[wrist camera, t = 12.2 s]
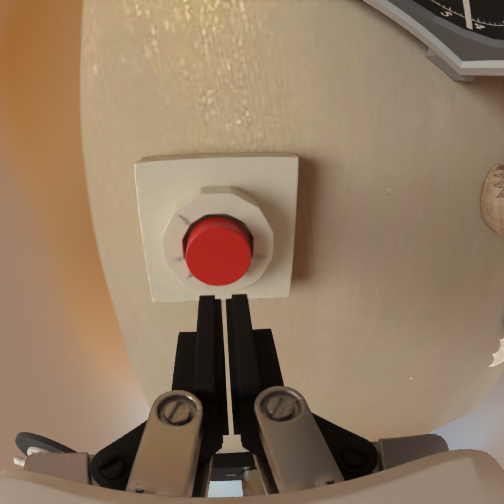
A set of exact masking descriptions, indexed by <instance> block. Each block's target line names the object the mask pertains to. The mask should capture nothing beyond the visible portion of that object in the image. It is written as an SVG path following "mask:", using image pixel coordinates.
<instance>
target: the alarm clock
mask: <svg viewBox="0 0 504 504" xmlns="http://www.w3.org/2000/svg"><path fill="white" fill-rule="evenodd" d="M362 1H364V2H366V3H367V4H369V5H371V6H372V7H374V8H376V9H377V10H379V11H380V12H382V13H383V14H385V15H386V16H388V17H389V18H391V19H392V20H394V21H395V22H397V23H398V24H399V25H401V26H402V27H404V28H405V29H406V30H408V31H409V32H410V33H412V34H413V35H414V36H416V37H417V38H418V39H419V40H421V41H422V42H423V43H424V44H426V45H427V46H428V50H427V53H426V57H427V58H429V59H430V60H431V61H432V62H433V63H435V64H436V65H437V66H438V67H439V68H440V69H441V70H443V71H444V72H445V73H446V74H447V75H448V76H449V77H450V78H451V79H453V80H454V81H467V82H471V81H473V80H474V79H476V75H490V76H504V0H362Z"/></svg>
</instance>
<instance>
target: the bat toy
mask: <svg viewBox="0 0 504 504" xmlns="http://www.w3.org/2000/svg"><path fill="white" fill-rule="evenodd" d="M500 342H501V348H500V350H499V351H498V352H496V353H494V354H492V355H493V356H494V362H493V363H492V364H491V365H490V366H488V367H493V366H496V365H498V364H500V363H501V362H503V361H504V338H503V339H500Z"/></svg>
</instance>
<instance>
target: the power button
mask: <svg viewBox="0 0 504 504" xmlns="http://www.w3.org/2000/svg"><path fill="white" fill-rule="evenodd" d="M185 259H186V264H187V267H188V269H189V271H190V272H191V274H192V275H193V276H194V277H195V278H196V279H198V280H199V281H201V282H203V283H205V284H208V285H212V286H224V285H229V284H232V283H234V282H236V281H237V280H239V279H240V278H241V277H242V276H243V275H244V274H245V273H246V271H247V270H248V268H249V266H250V262H251V250H250V246H249V241H248V237H247V235H246V233H245V231H244V229H243V228H242V227H241V226H240V225H239V224H238V223H237V222H235V221H233V220H231V219H228V218H225V217H212V218H208V219H205V220H203V221H201V222H200V223H199V224H197V225H196V226H195V227H194V229H193V230H192V231H191V233H190V236H189V239H188V243H187V248H186V254H185Z"/></svg>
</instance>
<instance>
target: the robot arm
mask: <svg viewBox="0 0 504 504" xmlns="http://www.w3.org/2000/svg"><path fill="white" fill-rule="evenodd" d="M226 313H227V333H228V352H229V369H230V385H231V399H232V413H233V426H234V435H237V434H241V442H242V446H243V447H244V448H245V449H247V450H248V451H250V452H251V453H253V457H254V460H255V463H256V466H257V470H258V473H259V476H260V479H261V482H262V485H263V488H264V491H265V494H266V495H258V496H245V497H221V498H207V497H208V489H209V483H210V476H211V470H212V463H213V455H214V454H215V453H216V452H217V451H218V450H220V449H221V448H222V443H223V435H229V428H228V412H227V394H226V374H225V354H224V339H223V324H222V308H221V299H215V295H200V296H199V307H198V320H197V332H180V333H179V336H178V343H177V350H176V358H175V366H174V374H173V383H172V391H169V392H166V393H164V394H162V395H160V396H159V397H158V398H157V399H156V400H155V402H154V403H153V405H152V408H151V411H150V414H149V417H148V420H147V421H145V422H144V423H142V424H141V425H139V426H138V427H136V428H135V429H133V430H132V431H130V432H129V433H127V434H126V435H124V436H123V437H121V438H119V439H118V440H116V441H115V442H113V443H112V444H110V445H108V446H107V447H105V448H104V449H102V450H101V451H99V452H98V453H97V454H96V455H89V454H88V453H87V452H85V453H55V452H51V451H48V450H45V449H42V448H39V447H29V448H28V451H27V454H28V457H27V458H26V459H23V458H22V457H19V456H14V463H16V464H18V465H20V466H24V470H7V471H0V504H504V470H503V469H502V468H501V466H500V465H499V463H498V462H497V461H496V460H495V459H494V458H493V457H492V456H491V455H489V454H488V453H486V452H483V451H480V450H472V449H459V450H452V451H449V449H448V445H447V443H446V441H445V440H444V439H443V438H442V437H441V436H438V435H436V434H426V435H418V436H410V437H400V438H389V439H379V440H378V442H370V441H368V440H366V439H365V438H362V437H360V436H358V435H356V434H354V433H352V432H349V431H347V430H345V429H343V428H341V427H339V426H337V425H335V424H333V423H331V422H329V421H327V420H325V419H323V418H321V417H319V416H317V415H315V414H314V413H312V412H311V411H310V409H309V407H308V405H307V403H306V400H305V399H304V397H303V396H302V395H301V394H300V393H299V392H298V391H296V390H295V389H292V388H290V387H285V386H284V383H283V379H282V375H281V370H280V366H279V361H278V357H277V353H276V348H275V344H274V340H273V335H272V331H271V329H256V330H252V324H251V317H250V311H249V304H248V297H247V294H232V298H231V299H226Z"/></svg>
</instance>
